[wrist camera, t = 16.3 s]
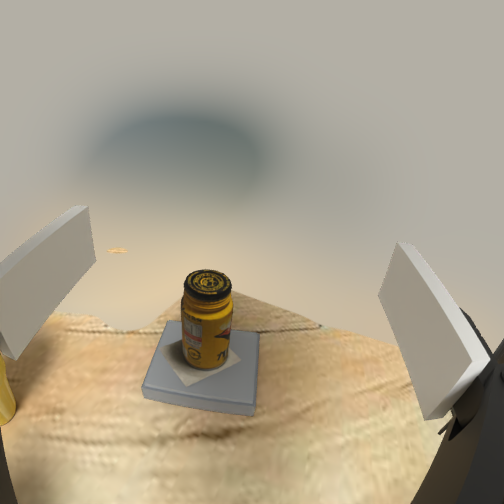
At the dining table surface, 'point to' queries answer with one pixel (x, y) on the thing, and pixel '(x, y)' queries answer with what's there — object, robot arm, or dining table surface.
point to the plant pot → (5, 396)
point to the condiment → (203, 328)
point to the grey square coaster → (212, 387)
